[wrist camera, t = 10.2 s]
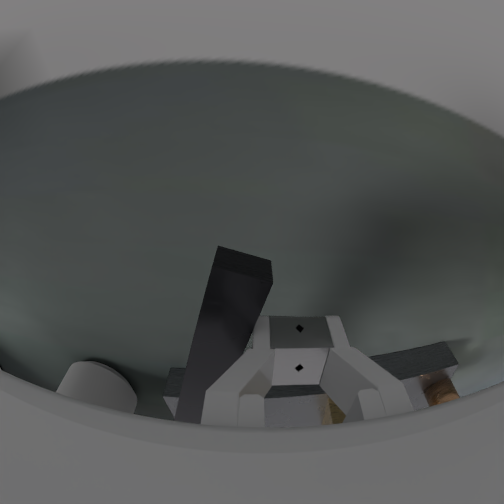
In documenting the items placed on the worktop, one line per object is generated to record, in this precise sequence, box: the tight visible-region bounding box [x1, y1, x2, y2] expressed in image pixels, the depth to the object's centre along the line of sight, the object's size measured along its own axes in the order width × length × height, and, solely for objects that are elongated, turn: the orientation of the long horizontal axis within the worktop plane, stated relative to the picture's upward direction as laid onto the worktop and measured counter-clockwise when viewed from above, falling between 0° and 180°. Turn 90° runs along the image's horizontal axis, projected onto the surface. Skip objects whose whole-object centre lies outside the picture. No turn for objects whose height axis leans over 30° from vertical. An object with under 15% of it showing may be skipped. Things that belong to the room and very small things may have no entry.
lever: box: [174, 246, 273, 424], centre depth 12 cm, size 19×2×1 cm, turn 163°
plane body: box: [163, 342, 460, 427], centre depth 19 cm, size 24×6×7 cm, turn 94°
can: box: [56, 361, 138, 414], centre depth 18 cm, size 8×8×12 cm
